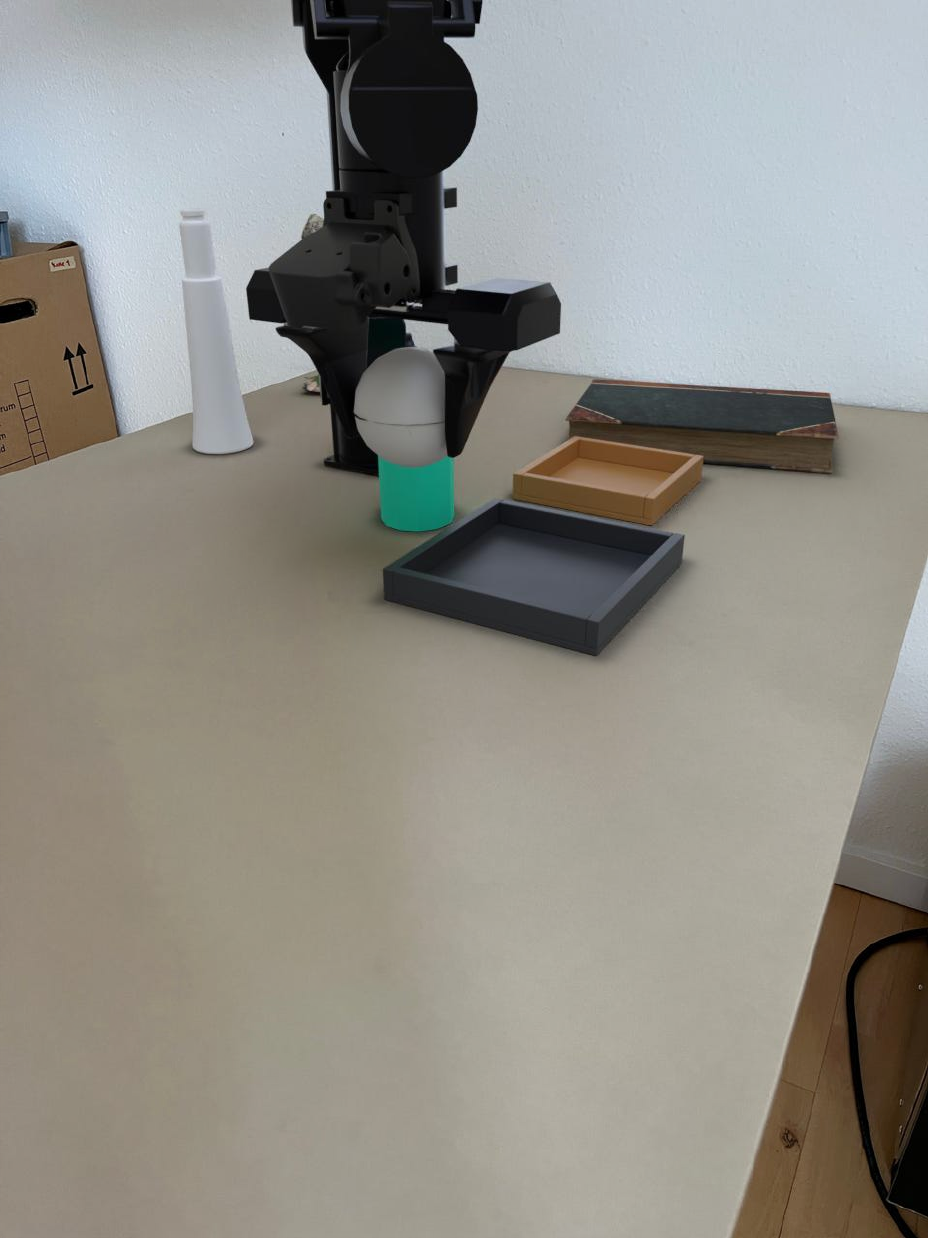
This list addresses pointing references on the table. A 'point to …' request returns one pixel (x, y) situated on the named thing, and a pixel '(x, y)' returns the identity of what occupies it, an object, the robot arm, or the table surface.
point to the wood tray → (609, 479)
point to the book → (712, 422)
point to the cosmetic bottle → (210, 346)
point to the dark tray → (537, 573)
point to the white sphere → (403, 407)
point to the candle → (417, 495)
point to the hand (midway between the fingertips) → (402, 446)
